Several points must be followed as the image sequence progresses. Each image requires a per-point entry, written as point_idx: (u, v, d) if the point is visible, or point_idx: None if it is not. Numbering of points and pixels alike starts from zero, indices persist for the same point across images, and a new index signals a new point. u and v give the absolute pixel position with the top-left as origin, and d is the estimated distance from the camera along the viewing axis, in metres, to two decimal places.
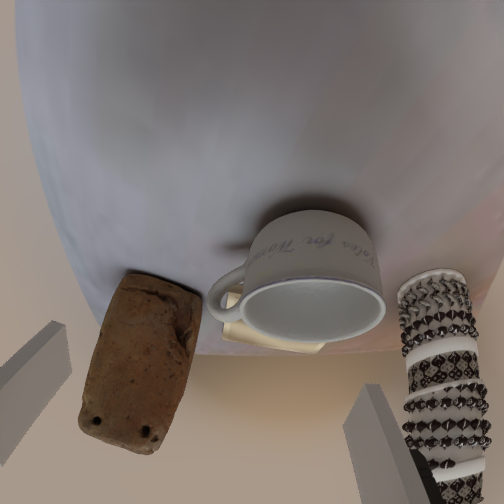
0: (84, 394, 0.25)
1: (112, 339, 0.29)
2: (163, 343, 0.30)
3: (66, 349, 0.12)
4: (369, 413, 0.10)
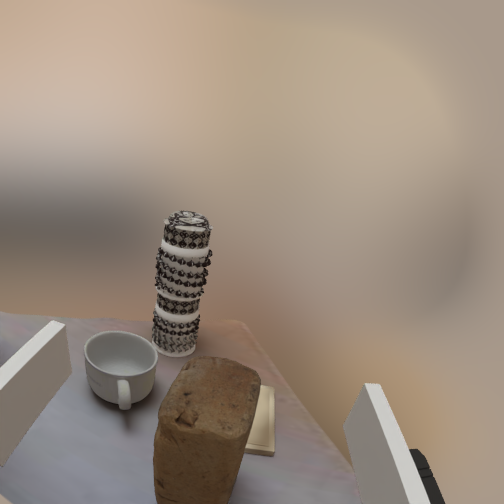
0: (157, 440, 0.19)
1: None
2: None
3: (66, 349, 0.12)
4: (370, 413, 0.10)
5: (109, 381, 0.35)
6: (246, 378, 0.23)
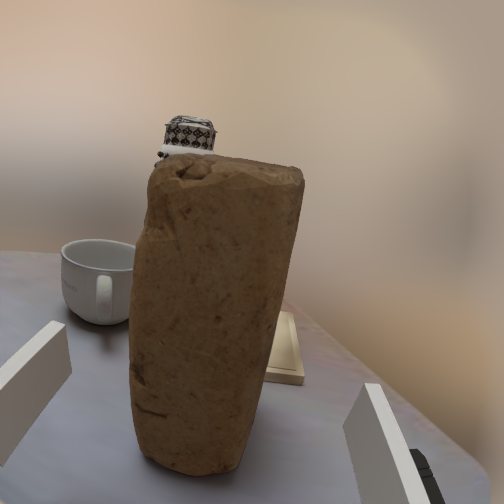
0: (139, 245, 0.13)
1: None
2: None
3: (66, 349, 0.12)
4: (369, 413, 0.10)
5: (87, 280, 0.28)
6: (281, 167, 0.17)
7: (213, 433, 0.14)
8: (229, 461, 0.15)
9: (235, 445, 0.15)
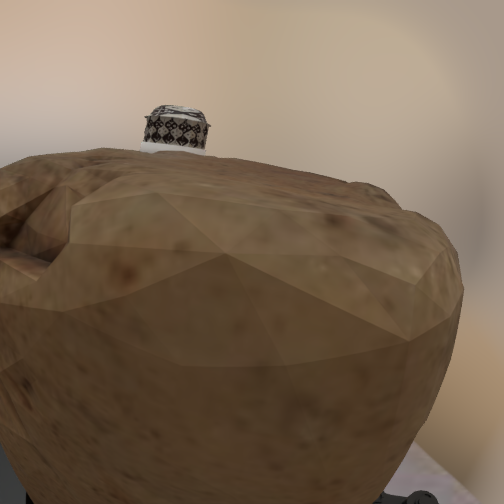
0: None
1: None
2: None
3: None
4: None
5: None
6: (330, 181, 0.07)
7: None
8: None
9: None
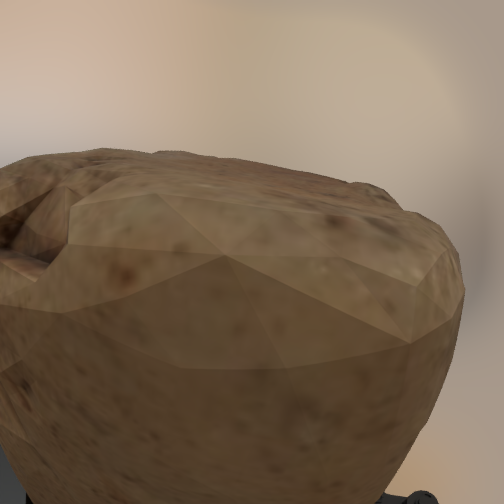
0: None
1: None
2: None
3: None
4: None
5: None
6: (330, 181, 0.07)
7: None
8: None
9: None
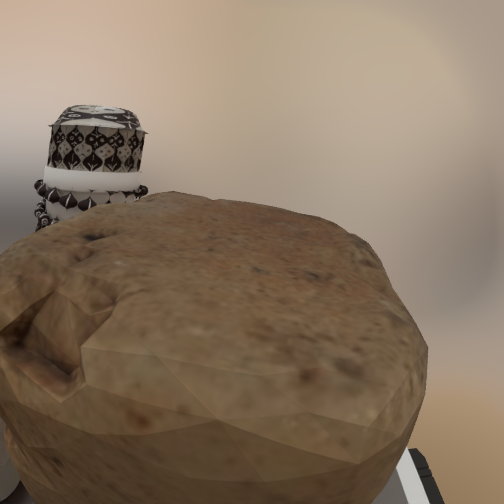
0: (7, 448, 0.04)
1: None
2: None
3: None
4: None
5: None
6: (318, 227, 0.07)
7: None
8: None
9: None
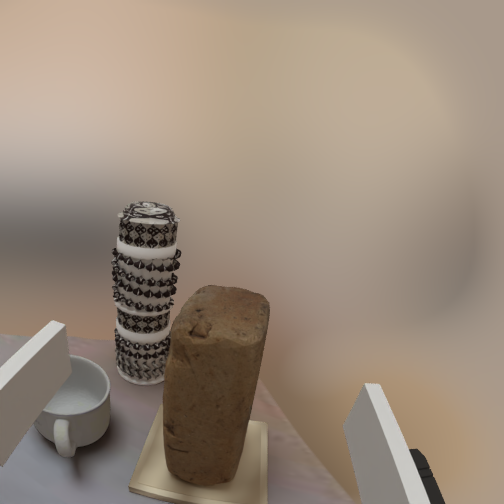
0: (168, 366, 0.21)
1: None
2: None
3: (66, 349, 0.12)
4: (369, 413, 0.10)
5: (47, 420, 0.22)
6: (255, 300, 0.25)
7: (217, 461, 0.22)
8: (227, 476, 0.23)
9: (230, 467, 0.23)
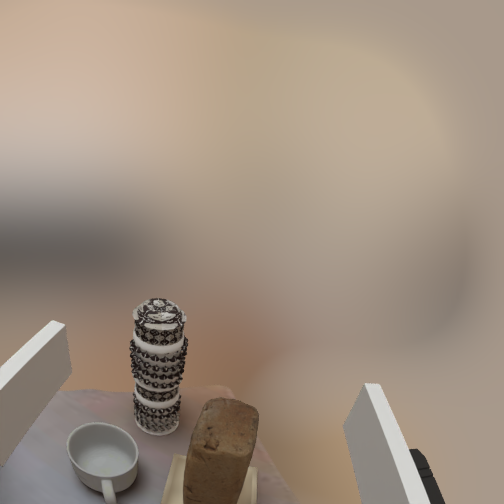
0: (189, 459, 0.28)
1: None
2: None
3: (66, 349, 0.12)
4: (370, 413, 0.10)
5: (94, 479, 0.29)
6: (248, 413, 0.32)
7: None
8: None
9: None
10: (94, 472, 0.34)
